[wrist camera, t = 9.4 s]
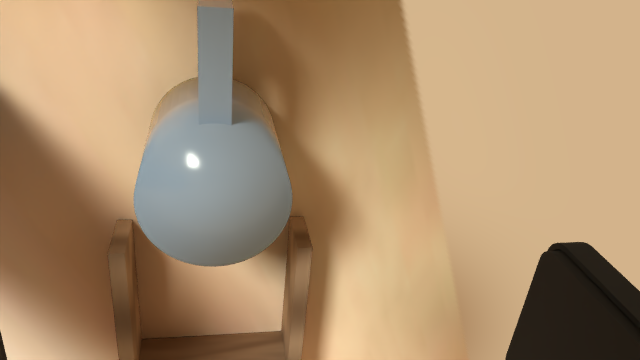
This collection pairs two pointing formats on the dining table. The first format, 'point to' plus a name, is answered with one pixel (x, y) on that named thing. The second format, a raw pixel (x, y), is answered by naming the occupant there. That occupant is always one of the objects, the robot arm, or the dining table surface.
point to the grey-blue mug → (212, 160)
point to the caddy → (214, 350)
